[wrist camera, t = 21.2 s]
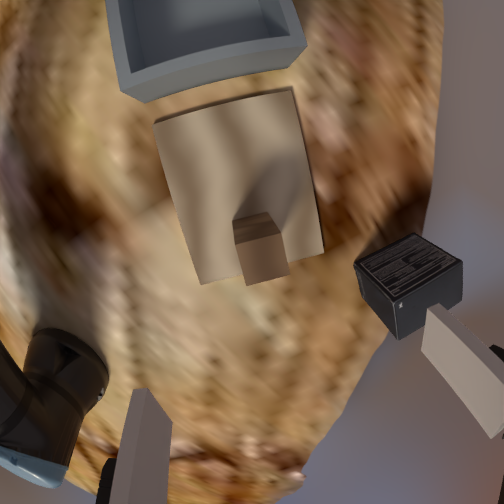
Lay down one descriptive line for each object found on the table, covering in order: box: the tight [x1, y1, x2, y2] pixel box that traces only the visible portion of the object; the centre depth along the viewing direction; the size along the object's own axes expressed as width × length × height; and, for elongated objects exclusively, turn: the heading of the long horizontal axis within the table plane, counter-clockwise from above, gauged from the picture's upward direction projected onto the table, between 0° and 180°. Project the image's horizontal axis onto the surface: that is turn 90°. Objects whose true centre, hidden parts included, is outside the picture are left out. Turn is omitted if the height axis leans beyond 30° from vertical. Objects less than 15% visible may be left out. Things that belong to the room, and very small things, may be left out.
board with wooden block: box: [152, 90, 324, 286], centre depth 27 cm, size 15×19×9 cm
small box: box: [353, 233, 463, 341], centre depth 32 cm, size 11×6×10 cm, turn 113°
